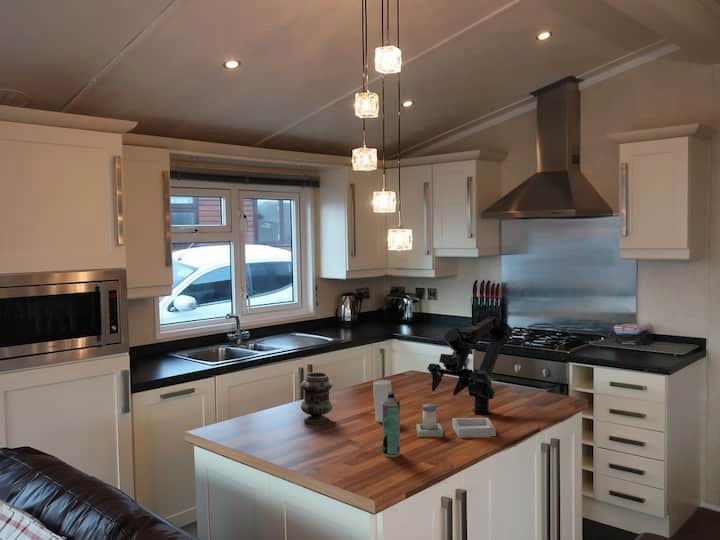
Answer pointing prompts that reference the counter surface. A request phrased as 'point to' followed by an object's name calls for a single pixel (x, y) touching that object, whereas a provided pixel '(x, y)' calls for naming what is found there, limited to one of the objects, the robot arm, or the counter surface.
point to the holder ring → (429, 431)
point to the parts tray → (473, 427)
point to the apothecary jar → (316, 397)
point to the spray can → (391, 426)
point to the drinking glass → (380, 397)
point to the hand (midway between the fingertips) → (443, 392)
